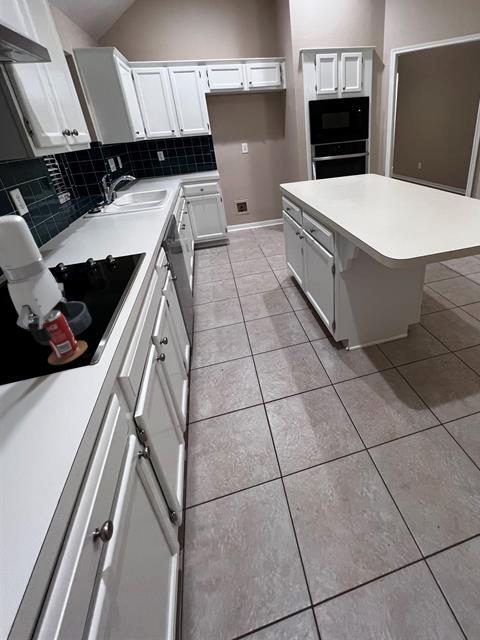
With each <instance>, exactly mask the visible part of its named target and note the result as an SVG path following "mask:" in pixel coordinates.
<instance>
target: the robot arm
mask: <svg viewBox="0 0 480 640" xmlns="http://www.w3.org/2000/svg"><path fill="white" fill-rule="evenodd" d="M0 269H1V270H2V272H3V274H4V276H5V278H6V279H7V281H8V282H7V288H8V289H7V290H8V293H9V296H10V299H11V301H12V303H13V305H14V308H15V310H16V313H17V314H18V317H17V321H16V325H17V326H18V327H21V328H22V330H23V331H24V330H25V331H27V332H30V333H31V335H32V334H33V335H32V336H34V337H33V339H34V340H35V342H36V343H37V342H38V343H37V344H39V342H46V341H50V340H51V339H52V338H51V336H50V334H49V332H48V330H47V328H46V326H43V317H44V316H45V315H47V314H48V313H49V311H50V310H51V309H52V308H53V309H54V310H59V311H60V313H62V314H63V315H64V317H70V316H71V313H70V310H69V308H68V306H67V304H66V303H67V298H66V297H65V296H66V291H65V289H64V283H63V282H57V281H56V279H55V277H54V276H53V274H52V272H51V271H50V269H49V268H48V267H47V265H46V263H45V260H44V258H43V255H42V254H41V252H40V250H39V247H38V245H37V243H36V241H35V239H34V237H33V235H32V233H31V230H30V228H29V226H28V224H27V222H26V220H25V219H24V218H23V217H22V216H20V215H17V214H9V215H2V216H0ZM36 315H38V316H36ZM33 319H37V324H34V323H33Z"/></svg>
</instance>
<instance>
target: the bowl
mask: <svg viewBox="0 0 480 640" xmlns="http://www.w3.org/2000/svg"><path fill="white" fill-rule="evenodd" d="M66 304H67V306H68V308H69V310H70V313H71V316H70V317H65V319H66V321H67V323H68V325H69V327H70V330H71V332H72V334H73V336H74V338H76V337H77V336H79V335H80V334H82V333H83V332H84V331H86V330H87V329H88V328H89V326H90V325H91V324H92V320H93V319H92V317H91V314H90V313H89V309H88V307H87V305H86V304H85V302H82V301H66ZM53 310H54V309H53V308H52V309H51V310H50V311H53ZM35 316H38V315H36V314H35ZM33 323H34V324H37V319H33ZM31 336H33V334H32V333H31ZM33 338H34V336H33ZM36 344H39V345H40V346H50V344H49V342H48V341H46V342H39V343H38V342H36Z"/></svg>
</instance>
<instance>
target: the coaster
mask: <svg viewBox="0 0 480 640" xmlns="http://www.w3.org/2000/svg"><path fill="white" fill-rule="evenodd" d="M76 342H77V344H78V350H77V351H76V352H75V353H74V354H73V355H71V356H69V357H67V358H58V357H56V355H55V354H54V352H53V351H52V352H51V353H50V354H49V356H48V358H47V363H48V364H49V365H52V366H62V365H65V364H68V363H70V362H71V363H72V361H74V360H76V359H77V358H79V357H81V356H82V355H83V354H84V353H85V352H86V350H87V349H88V343H87V342H86V341H85V340H76Z"/></svg>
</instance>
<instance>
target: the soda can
mask: <svg viewBox="0 0 480 640" xmlns="http://www.w3.org/2000/svg"><path fill="white" fill-rule="evenodd" d="M43 326H46V328H47V330H48V332H49V334H50V336H51V338H52V339H51V340H50V341H48V342H49V344H50V345H49V346H50V349H51V350H52V352H54V354H55V355H56V357H58V358H67V357H69V356H71V355H73V354H74V353H75V352H76V351H77V350H78V344H77V342H76V341H77V340H76V337H74V336H73V334H72V332H71V330H70V327H69V325H68V323H67V321H66V319H65V317H64V315H63V314H62V313H60V311H59V310H53V311H49V313H48V314H47V315H45V316H44V317H43Z"/></svg>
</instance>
